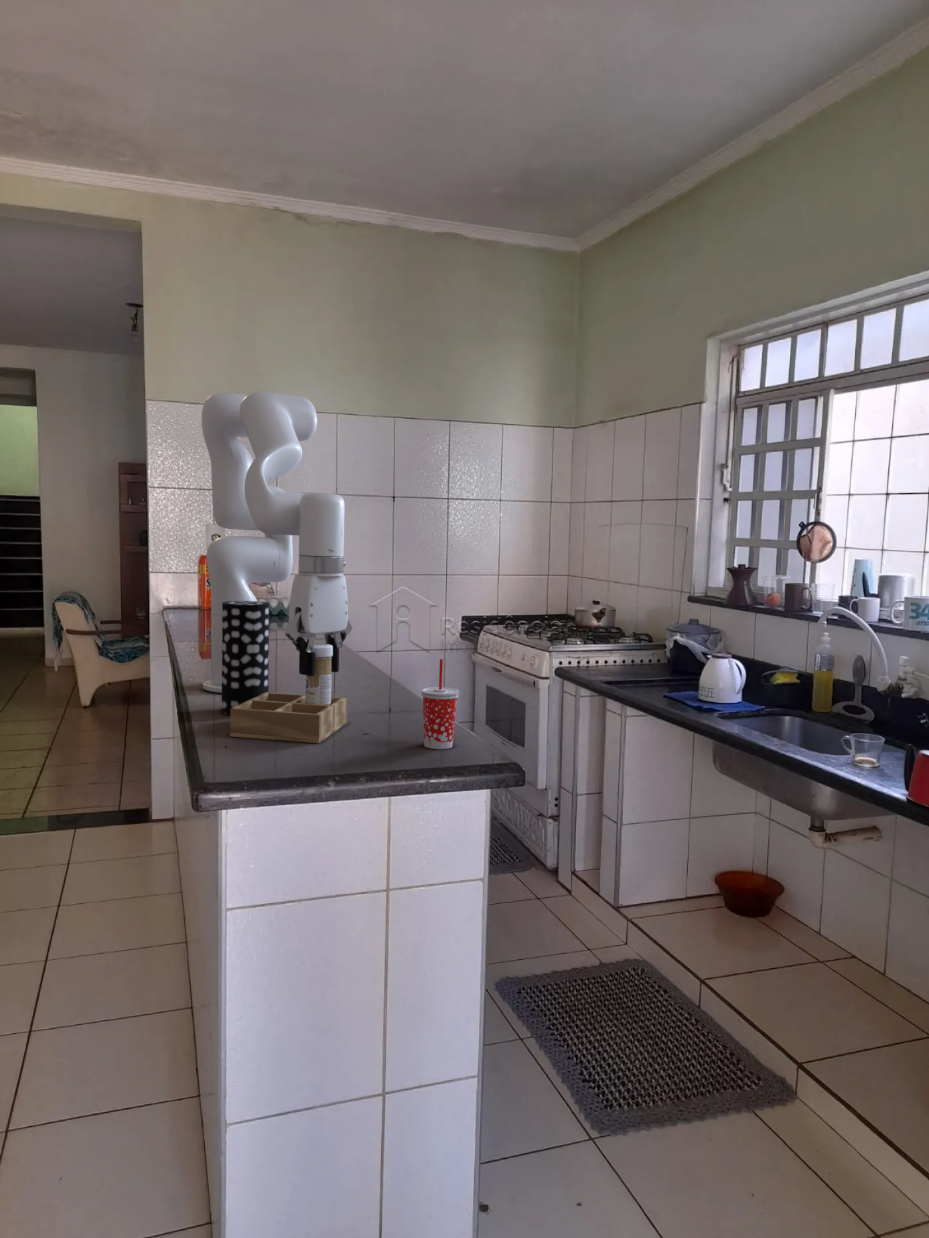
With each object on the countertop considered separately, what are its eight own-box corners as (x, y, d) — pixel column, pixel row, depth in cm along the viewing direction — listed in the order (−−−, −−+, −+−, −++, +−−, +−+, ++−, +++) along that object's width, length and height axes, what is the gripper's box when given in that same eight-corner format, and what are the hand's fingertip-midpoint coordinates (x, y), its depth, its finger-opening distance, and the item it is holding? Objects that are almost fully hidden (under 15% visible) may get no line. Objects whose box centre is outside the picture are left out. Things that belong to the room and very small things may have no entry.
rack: (265, 717, 155) (266, 692, 154) (346, 723, 152) (347, 697, 152) (230, 736, 140) (230, 708, 139) (318, 743, 138) (319, 715, 137)
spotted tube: (256, 717, 154) (257, 605, 152) (213, 714, 156) (213, 603, 154) (275, 708, 162) (276, 602, 160) (234, 705, 164) (235, 600, 162)
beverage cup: (453, 751, 136) (456, 663, 134) (415, 748, 137) (418, 660, 135) (460, 742, 142) (463, 657, 140) (423, 739, 143) (426, 655, 141)
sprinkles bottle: (299, 721, 149) (300, 643, 148) (321, 717, 152) (322, 642, 151) (314, 726, 146) (315, 647, 144) (336, 722, 149) (338, 645, 148)
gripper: (340, 565, 155) (338, 665, 157) (267, 566, 142) (265, 676, 143) (371, 567, 151) (369, 670, 153) (298, 568, 137) (297, 681, 139)
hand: (319, 671), depth 148 cm, fingers open, 5 cm apart
